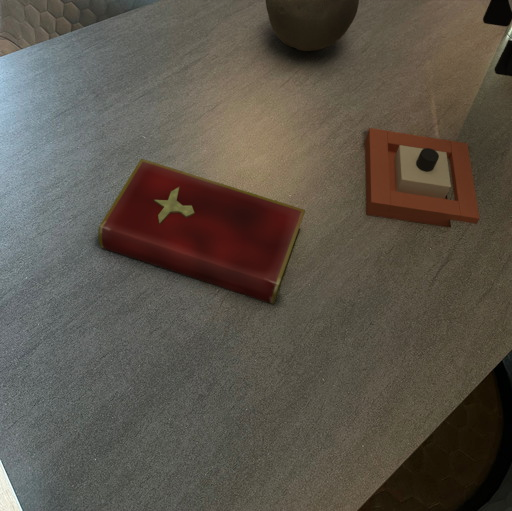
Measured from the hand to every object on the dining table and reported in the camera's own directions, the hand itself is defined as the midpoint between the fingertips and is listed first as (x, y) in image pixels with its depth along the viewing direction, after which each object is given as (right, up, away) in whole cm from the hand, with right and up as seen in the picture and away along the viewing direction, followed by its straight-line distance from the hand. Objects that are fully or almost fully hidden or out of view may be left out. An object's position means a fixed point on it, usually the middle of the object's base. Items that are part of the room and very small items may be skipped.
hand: (501, 48), depth 73 cm
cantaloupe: (-21, +9, +29) cm, 37 cm away
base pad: (-7, -14, +13) cm, 20 cm away
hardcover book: (-35, -22, +3) cm, 41 cm away
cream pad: (-6, -14, +12) cm, 19 cm away
